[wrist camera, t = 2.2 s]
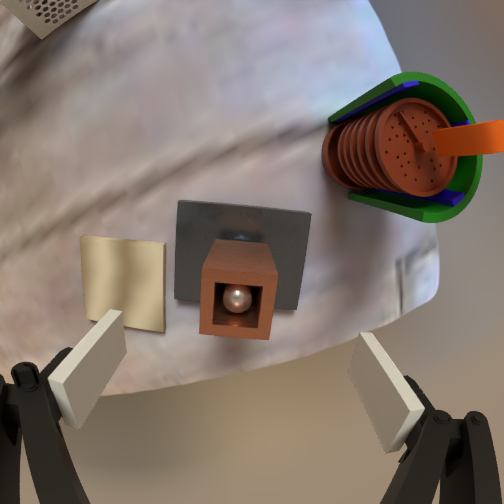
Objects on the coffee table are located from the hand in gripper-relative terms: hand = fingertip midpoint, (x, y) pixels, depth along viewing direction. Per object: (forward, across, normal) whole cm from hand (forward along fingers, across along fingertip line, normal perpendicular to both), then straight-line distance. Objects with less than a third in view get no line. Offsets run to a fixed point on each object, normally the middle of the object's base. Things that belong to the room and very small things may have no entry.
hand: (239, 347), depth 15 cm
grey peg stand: (+18, 0, 0) cm, 18 cm away
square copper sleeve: (+14, 0, 0) cm, 14 cm away
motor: (+19, +12, +13) cm, 26 cm away
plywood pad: (+18, -14, -5) cm, 24 cm away
